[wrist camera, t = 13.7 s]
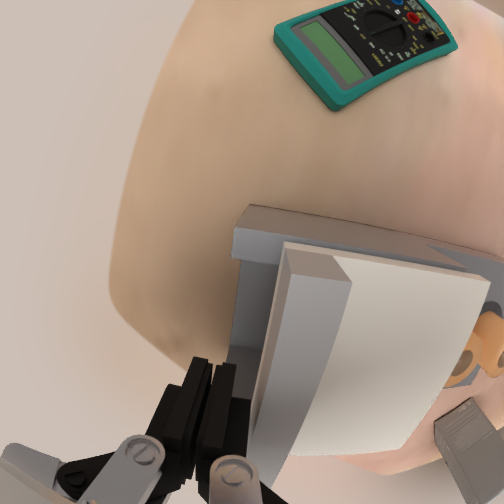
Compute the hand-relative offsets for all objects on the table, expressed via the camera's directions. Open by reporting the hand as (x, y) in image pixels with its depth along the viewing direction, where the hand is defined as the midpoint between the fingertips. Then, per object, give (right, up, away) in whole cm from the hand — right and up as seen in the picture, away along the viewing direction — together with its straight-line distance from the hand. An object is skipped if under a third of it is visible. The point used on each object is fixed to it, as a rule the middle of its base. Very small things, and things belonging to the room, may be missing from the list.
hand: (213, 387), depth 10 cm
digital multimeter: (+11, +22, +5) cm, 25 cm away
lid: (+7, -1, +2) cm, 7 cm away
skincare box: (+30, -18, +15) cm, 38 cm away
